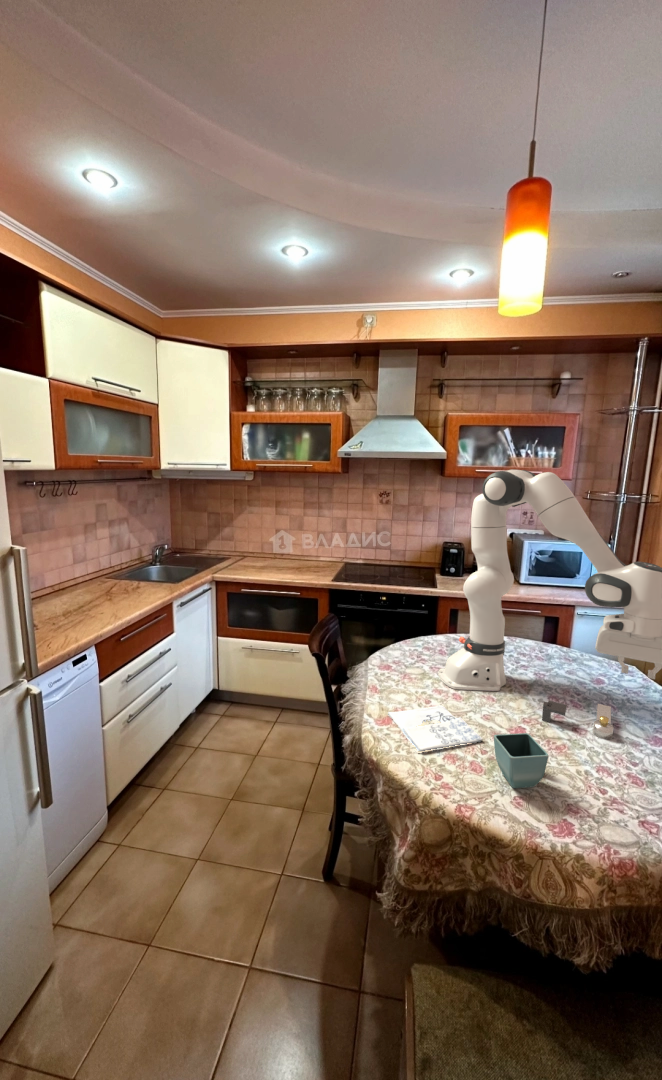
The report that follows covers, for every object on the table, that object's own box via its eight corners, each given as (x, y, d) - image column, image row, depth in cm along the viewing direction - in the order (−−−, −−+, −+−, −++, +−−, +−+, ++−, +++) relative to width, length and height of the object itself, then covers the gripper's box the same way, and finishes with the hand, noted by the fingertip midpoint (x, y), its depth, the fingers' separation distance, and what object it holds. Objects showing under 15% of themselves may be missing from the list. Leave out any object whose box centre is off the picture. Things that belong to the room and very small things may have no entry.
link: (612, 741, 113) (613, 731, 112) (592, 736, 115) (593, 726, 115) (612, 716, 125) (613, 707, 124) (594, 712, 127) (595, 703, 127)
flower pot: (490, 769, 104) (492, 734, 103) (525, 767, 105) (528, 732, 103) (508, 795, 95) (510, 757, 94) (546, 793, 96) (549, 755, 95)
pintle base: (620, 759, 108) (623, 736, 107) (536, 735, 118) (538, 714, 117) (619, 725, 123) (621, 704, 122) (544, 706, 133) (546, 687, 132)
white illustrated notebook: (417, 757, 109) (418, 749, 109) (386, 715, 128) (386, 708, 128) (484, 745, 114) (484, 737, 114) (444, 706, 134) (444, 699, 133)
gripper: (692, 628, 111) (686, 680, 113) (598, 615, 122) (593, 662, 123) (696, 636, 105) (689, 690, 107) (597, 621, 116) (593, 670, 118)
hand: (637, 675), depth 116 cm, fingers open, 4 cm apart
